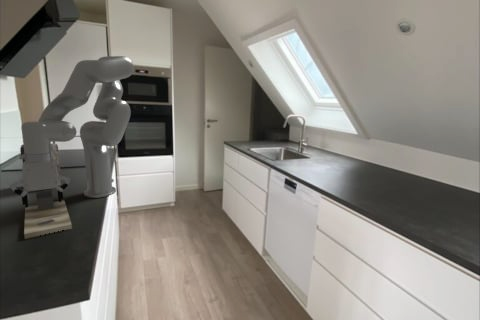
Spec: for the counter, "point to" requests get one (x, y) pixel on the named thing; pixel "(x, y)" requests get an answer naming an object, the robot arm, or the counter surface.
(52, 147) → the stone block
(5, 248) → the counter surface
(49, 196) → the sanding sponge
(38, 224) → the birch board
